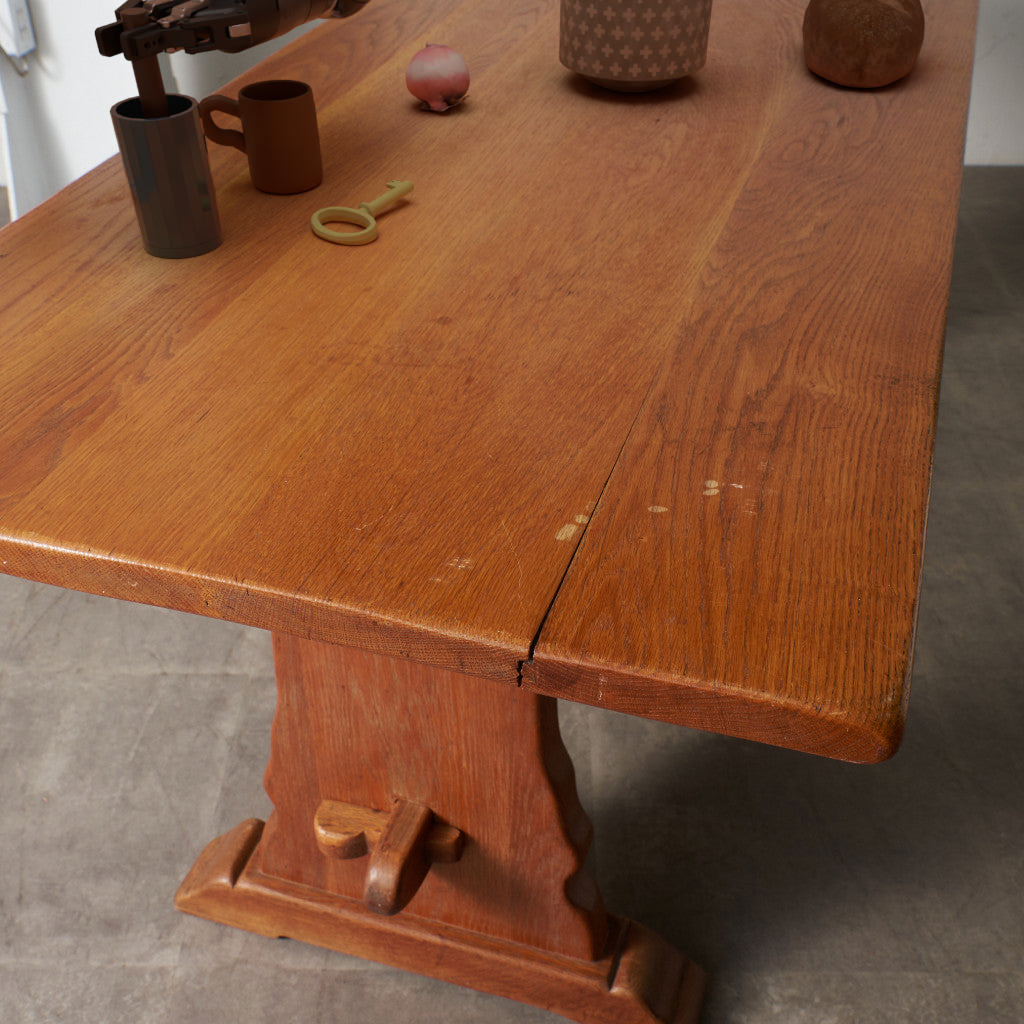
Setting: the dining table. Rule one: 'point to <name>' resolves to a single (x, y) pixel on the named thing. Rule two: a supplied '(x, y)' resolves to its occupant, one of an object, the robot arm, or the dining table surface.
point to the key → (359, 216)
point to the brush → (146, 70)
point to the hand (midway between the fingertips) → (113, 46)
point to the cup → (169, 177)
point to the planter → (634, 41)
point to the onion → (438, 76)
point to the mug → (271, 133)
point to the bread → (863, 40)
